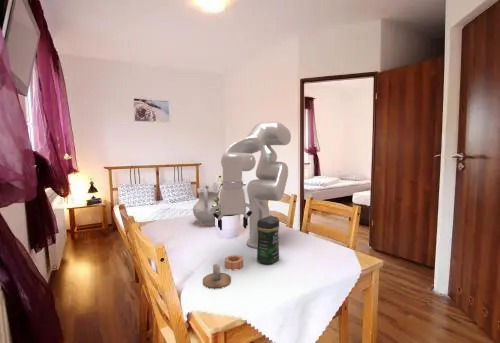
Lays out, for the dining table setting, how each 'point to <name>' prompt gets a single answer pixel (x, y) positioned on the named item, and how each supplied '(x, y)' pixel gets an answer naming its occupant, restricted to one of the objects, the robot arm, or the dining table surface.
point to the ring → (233, 262)
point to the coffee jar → (268, 240)
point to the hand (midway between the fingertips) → (232, 228)
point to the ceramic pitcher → (206, 204)
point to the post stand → (216, 278)
